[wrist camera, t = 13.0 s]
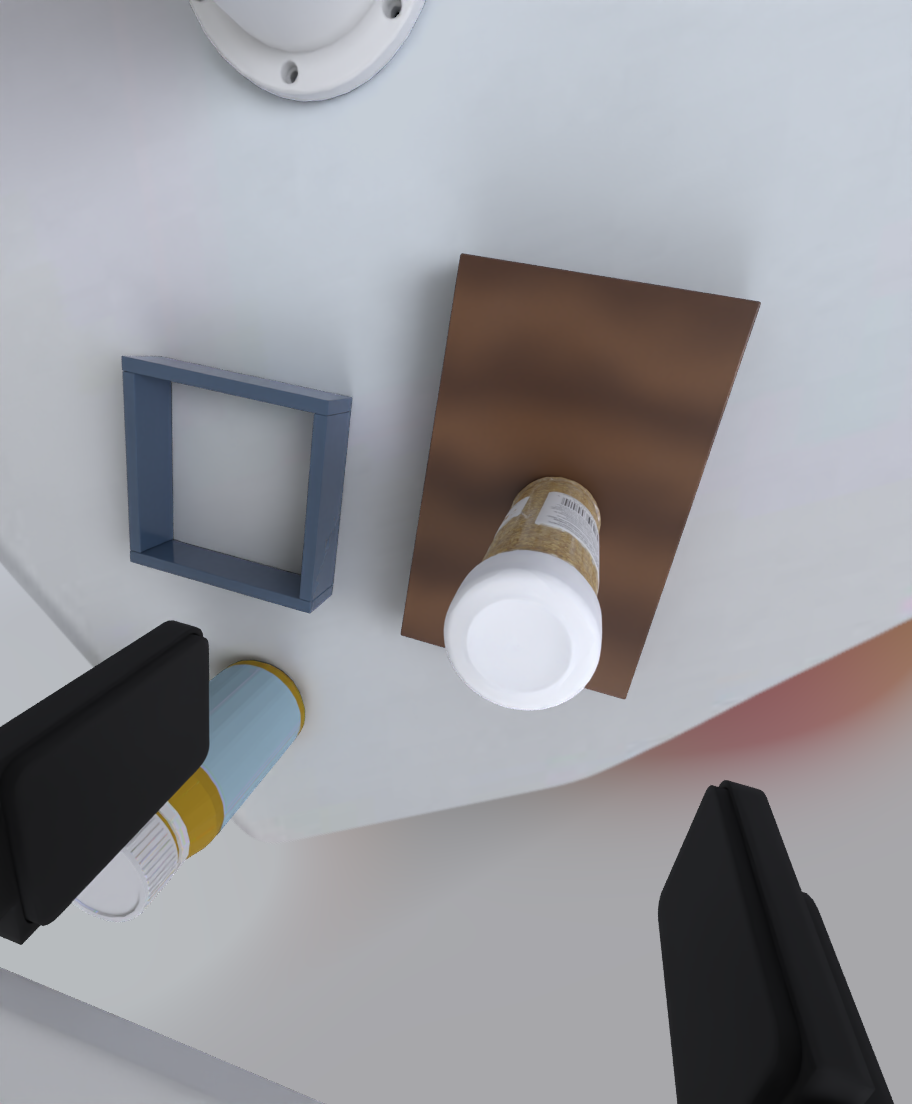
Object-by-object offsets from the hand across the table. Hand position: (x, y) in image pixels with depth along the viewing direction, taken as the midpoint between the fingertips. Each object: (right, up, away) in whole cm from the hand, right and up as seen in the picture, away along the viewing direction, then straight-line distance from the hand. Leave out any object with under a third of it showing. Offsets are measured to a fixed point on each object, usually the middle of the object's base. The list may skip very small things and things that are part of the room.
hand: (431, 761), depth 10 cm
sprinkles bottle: (+6, +5, +18) cm, 20 cm away
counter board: (+6, +8, +20) cm, 22 cm away
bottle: (-13, -7, +30) cm, 34 cm away
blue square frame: (-12, +8, +25) cm, 29 cm away
